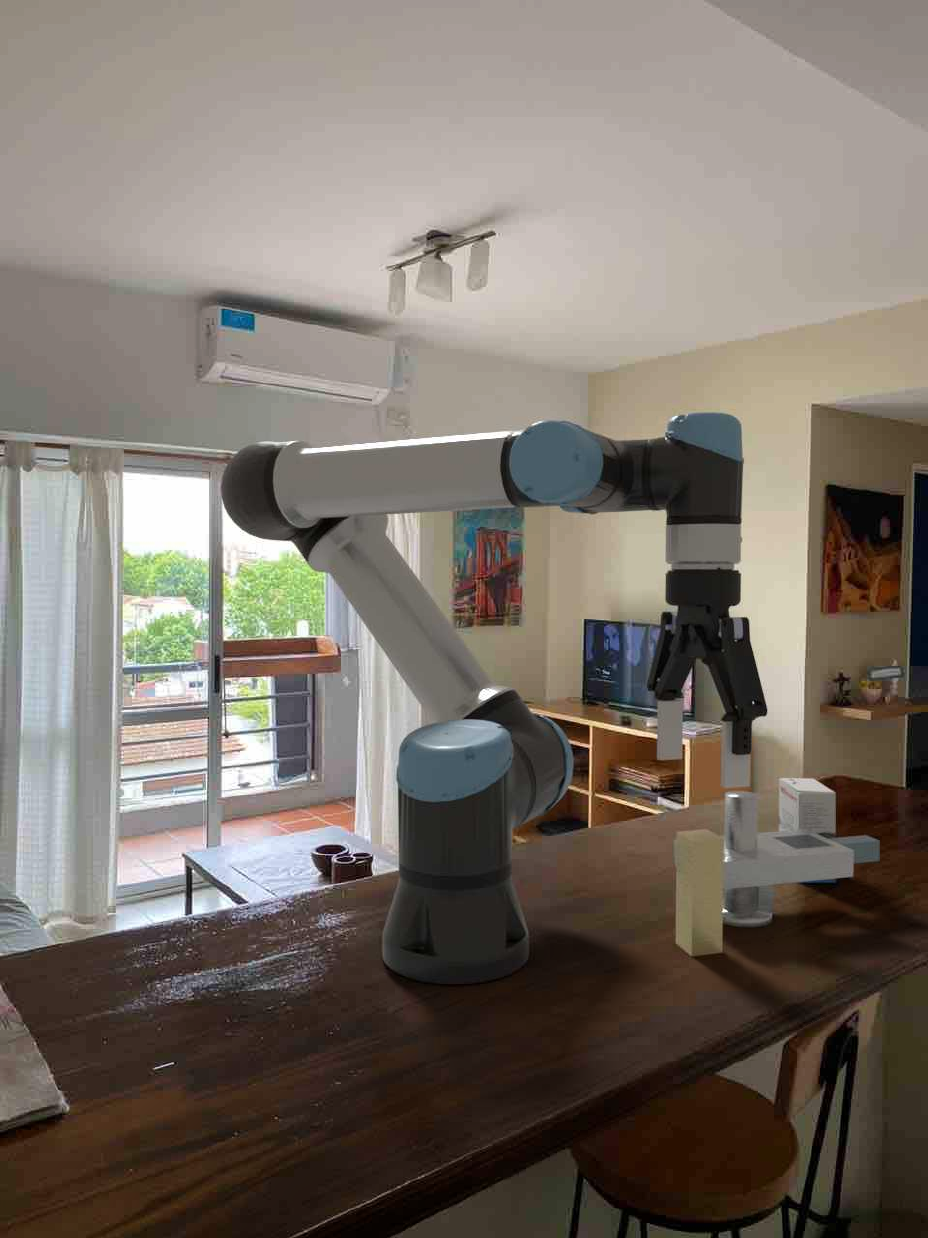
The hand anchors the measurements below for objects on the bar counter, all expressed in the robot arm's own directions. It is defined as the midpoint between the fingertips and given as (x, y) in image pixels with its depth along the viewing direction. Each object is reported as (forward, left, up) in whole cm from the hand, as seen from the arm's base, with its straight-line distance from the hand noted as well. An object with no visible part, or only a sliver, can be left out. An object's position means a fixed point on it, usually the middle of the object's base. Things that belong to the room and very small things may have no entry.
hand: (700, 772), depth 98 cm
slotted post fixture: (+15, +7, -19) cm, 25 cm away
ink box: (+25, +18, -19) cm, 36 cm away
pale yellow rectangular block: (0, 0, -19) cm, 19 cm away
